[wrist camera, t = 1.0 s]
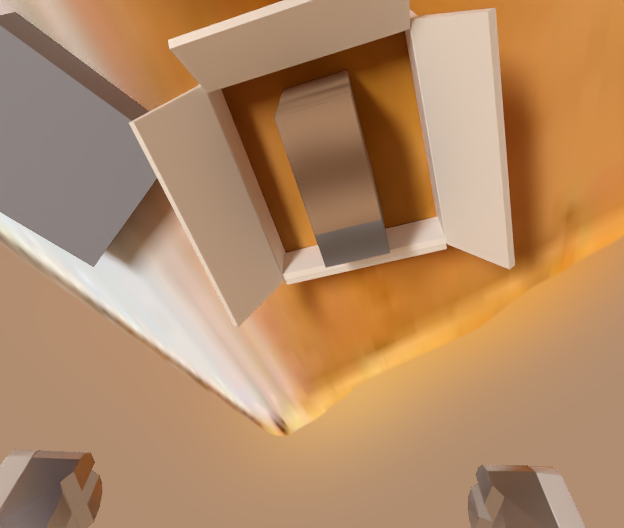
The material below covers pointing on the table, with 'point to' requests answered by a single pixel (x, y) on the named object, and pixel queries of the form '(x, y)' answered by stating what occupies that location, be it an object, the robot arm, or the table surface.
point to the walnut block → (332, 168)
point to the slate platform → (65, 144)
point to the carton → (299, 49)
